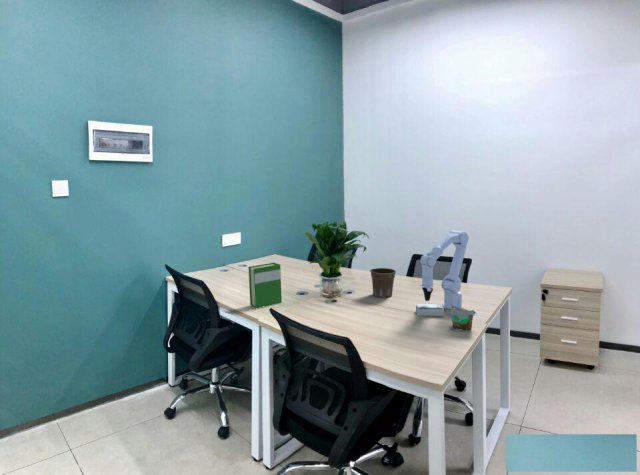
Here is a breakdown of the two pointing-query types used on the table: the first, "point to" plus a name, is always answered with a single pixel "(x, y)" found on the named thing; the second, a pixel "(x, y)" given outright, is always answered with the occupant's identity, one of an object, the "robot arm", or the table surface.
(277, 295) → the hardback book
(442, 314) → the grey slotted block
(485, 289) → the table surface
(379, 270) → the plant pot
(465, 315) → the food container
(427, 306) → the cover
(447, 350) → the table surface
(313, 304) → the table surface
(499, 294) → the table surface
